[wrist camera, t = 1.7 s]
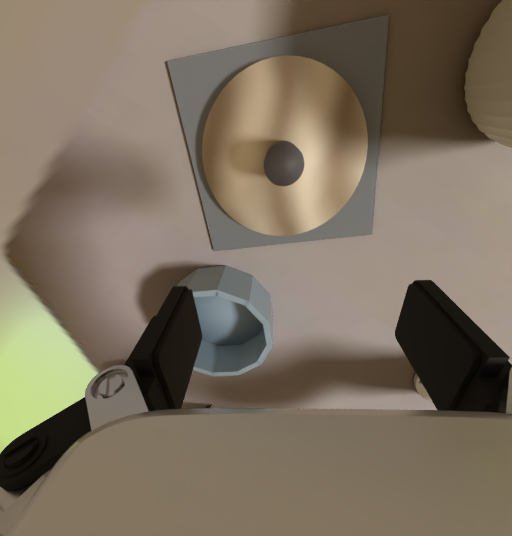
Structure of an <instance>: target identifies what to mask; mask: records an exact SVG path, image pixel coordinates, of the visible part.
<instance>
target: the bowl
mask: <svg viewBox="0 0 512 536" xmlns="http://www.w3.org/2000/svg"><path fill="white" fill-rule="evenodd" d="M176 286H187V287H188V289H191V290H192V292H193V296H194V300H195V305H196V309H197V314H198V318H199V322H200V327H201V331H202V341H201V345H200V348H199V351H198V354H197V358H196V361H195V364H194V367H193V370H194V371H197V372H200V373H204V374H207V375H210V376H234V375H241V374H243V373H245V372H247V371H249V370H251V369H253V368H255V367H257V366H260V365H261V364H262V363H263V361H264V359H265V358H266V356H267V354H268V353H269V351H270V350H271V348H272V346H273V312H272V305H271V298H270V294H269V293H268V292H267V291H266V290H265V289H264V288H263V286H262V285H261V284H260V283H259V282H258V281H257V280H256V279H255V278H254V276H253V275H250V274H247V273H245V272H242V271H239V270H237V269H234V268H231V267H229V266H226V265H225V266H215V267H204V268H197V269H196V270H195V271H193V272H192V273H190V274H189V275H188V276H186V277H185V278H184V279H182V280H181V281H180V282H178V284H177V285H176Z"/></svg>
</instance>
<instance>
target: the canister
mask: <svg viewBox="0 0 512 536" xmlns="http://www.w3.org/2000/svg"><path fill="white" fill-rule="evenodd" d="M468 62H469V64H468V69H467V71H466V73H465V76H466V81H465V86H464V89H465V101H466V103H467V111H468V113H470V115H471V120H472V122H473V123H475V124H476V125H477V128H478V130H480V131H481V132H483V133H485V135H486V136H487V137H488V138H490V139H492V140H495V141H497V142H498V143H500V144H503V145H505V146H509V147H512V0H502V1H501V2H500V3H499V4H498V5H497V6H496V7H495V9H494V10H493V11H492V13H491V15H490V18H489V20H488V21H487V22H486V24H485V25H484V26H483V28H482V29H481V33H480V36H479V38H478V39H477V41H476V42H475V44H474V48H473V52H472V54H471V56H470V58H469V60H468Z"/></svg>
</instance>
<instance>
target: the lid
mask: <svg viewBox="0 0 512 536" xmlns="http://www.w3.org/2000/svg"><path fill="white" fill-rule="evenodd" d="M367 149H368V133H367V126H366V121H365V117H364V113H363V110H362V107H361V105H360V103H359V100H358V98H357V97H356V95H355V93H354V92H353V90H352V89H351V87H350V86H349V85H348V84H347V82H346V81H345V80H344V79H343V78H342V77H341V76H340V75H339V74H337V73H336V72H335V71H334V70H333V69H331V68H329V67H328V66H326V65H324V64H323V63H320V62H318V61H315V60H313V59H310V58H305V57H301V56H287V55H286V56H277V57H272V58H268V59H265V60H261V61H259V62H257V63H255V64H253V65H251V66H249V67H247V68H246V69H244V70H243V71H241V72H240V73H238V74H237V75H236V76H235V77H234V78H233V79H232V80H231V81H230V82H229V83H228V84H227V85H226V86H225V87H224V89H223V90H222V91H221V92H220V94H219V96H218V97H217V99H216V100H215V102H214V104H213V106H212V108H211V110H210V112H209V115H208V118H207V121H206V124H205V129H204V134H203V143H202V158H203V166H204V172H205V175H206V178H207V182H208V184H209V187H210V189H211V191H212V193H213V195H214V197H215V198H216V200H217V202H218V203H219V204H220V206H221V207H222V208H223V209H224V210H225V211H226V213H227V214H228V215H229V216H230V217H232V218H233V219H234V220H235V221H237V222H238V223H240V224H241V225H243V226H244V227H246V228H248V229H251V230H253V231H256V232H259V233H262V234H266V235H272V236H290V235H296V234H300V233H304V232H307V231H310V230H312V229H314V228H317V227H318V226H320V225H322V224H324V223H325V222H327V221H328V220H329V219H331V218H332V217H333V216H334V215H336V214H337V213H338V212H339V211H340V210H341V209H342V208H343V206H344V205H345V204H346V203H347V202H348V200H349V199H350V197H351V196H352V194H353V193H354V191H355V189H356V187H357V185H358V183H359V181H360V179H361V176H362V173H363V171H364V167H365V162H366V158H367Z"/></svg>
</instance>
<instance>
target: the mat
mask: <svg viewBox="0 0 512 536" xmlns="http://www.w3.org/2000/svg"><path fill="white" fill-rule="evenodd" d="M388 25H389V14H388V15H383V16H379V17H374V18H369V19H364V20H360V21H355V22H350V23H345V24H341V25H336V26H331V27H326V28H322V29H317V30H312V31H307V32H303V33H298V34H293V35H289V36H284V37H279V38H274V39H270V40H265V41H260V42H255V43H251V44H246V45H241V46H236V47H232V48H227V49H222V50H217V51H213V52H208V53H203V54H199V55H194V56H189V57H184V58H180V59H175V60H170V61H167V64H168V68H169V72H170V76H171V80H172V84H173V88H174V92H175V96H176V100H177V104H178V108H179V112H180V116H181V120H182V124H183V128H184V132H185V136H186V140H187V144H188V148H189V152H190V156H191V160H192V164H193V169H194V173H195V177H196V181H197V185H198V189H199V193H200V197H201V201H202V205H203V209H204V213H205V217H206V221H207V225H208V229H209V233H210V237H211V241H212V245H213V249H214V251H219V250H229V249H238V248H248V247H257V246H266V245H276V244H285V243H295V242H304V241H313V240H323V239H332V238H341V237H351V236H360V235H370V234H372V228H373V216H374V203H375V190H376V178H377V165H378V152H379V139H380V127H381V114H382V101H383V89H384V76H385V63H386V51H387V38H388ZM286 55H287V56H301V57H305V58H310V59H313V60H315V61H318V62H320V63H323V64H324V65H326V66H328V67H329V68H331V69H333V70H334V71H335V72H336V73H337V74H339V75H340V76H341V77H342V78H343V79H344V80H345V81H346V82H347V84H348V85H349V86H350V87H351V89H352V90H353V92H354V93H355V95H356V97H357V98H358V100H359V103H360V105H361V107H362V110H363V113H364V117H365V121H366V126H367V133H368V149H367V158H366V162H365V167H364V171H363V173H362V176H361V179H360V181H359V183H358V185H357V187H356V189H355V191H354V193H353V194H352V196H351V197H350V199H349V200H348V202H347V203H346V204H345V205H344V206H343V208H342V209H341V210H340V211H339V212H338V213H337V214H336V215H334V216H333V217H332V218H331V219H329V220H328V221H327V222H325V223H324V224H322V225H320V226H318V227H317V228H314V229H312V230H310V231H307V232H304V233H300V234H296V235H290V236H272V235H266V234H262V233H259V232H256V231H253V230H251V229H248V228H246V227H244V226H243V225H241V224H240V223H238V222H237V221H235V220H234V219H233V218H232V217H230V216H229V215H228V214H227V213H226V211H225V210H224V209H223V208H222V207H221V206H220V204H219V203H218V202H217V200H216V198H215V197H214V195H213V193H212V191H211V189H210V187H209V184H208V182H207V178H206V175H205V172H204V166H203V158H202V143H203V134H204V129H205V124H206V121H207V118H208V115H209V112H210V110H211V108H212V106H213V104H214V102H215V100H216V99H217V97H218V96H219V94H220V92H221V91H222V90H223V89H224V87H225V86H226V85H227V84H228V83H229V82H230V81H231V80H232V79H233V78H234V77H235V76H236V75H237V74H238V73H240V72H241V71H243V70H244V69H246V68H247V67H249V66H251V65H253V64H255V63H257V62H259V61H261V60H265V59H268V58H272V57H277V56H286Z"/></svg>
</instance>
